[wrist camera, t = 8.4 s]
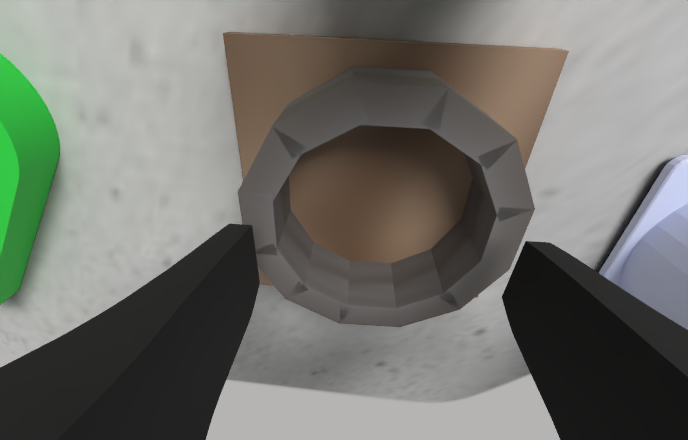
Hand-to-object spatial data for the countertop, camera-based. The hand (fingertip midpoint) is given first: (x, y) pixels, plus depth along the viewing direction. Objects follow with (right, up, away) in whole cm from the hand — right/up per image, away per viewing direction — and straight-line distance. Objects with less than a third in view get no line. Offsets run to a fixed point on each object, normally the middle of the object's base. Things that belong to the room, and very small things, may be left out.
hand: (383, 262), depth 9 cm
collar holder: (0, +2, +4) cm, 4 cm away
